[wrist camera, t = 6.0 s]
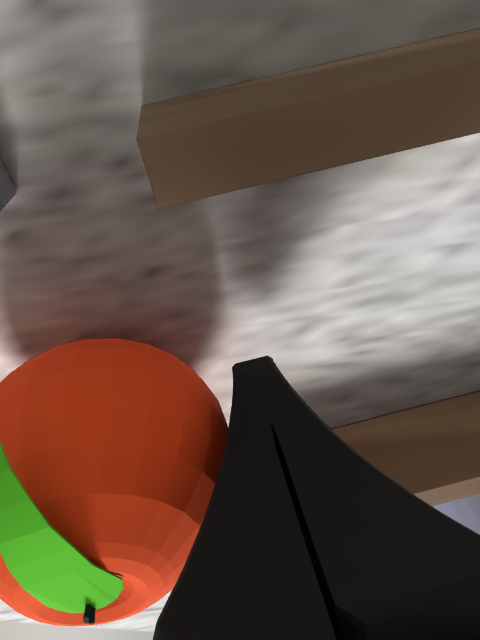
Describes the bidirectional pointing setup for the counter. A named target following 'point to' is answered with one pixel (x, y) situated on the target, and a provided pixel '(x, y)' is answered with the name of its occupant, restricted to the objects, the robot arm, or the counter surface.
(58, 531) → the clementine
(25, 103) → the counter surface
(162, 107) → the brown wooden frame
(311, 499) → the robot arm
